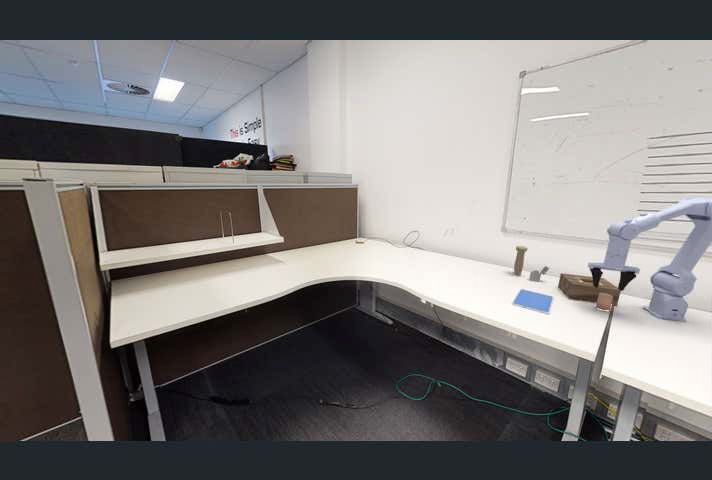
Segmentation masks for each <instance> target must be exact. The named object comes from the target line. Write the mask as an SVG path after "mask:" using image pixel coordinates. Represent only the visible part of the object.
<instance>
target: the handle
mask: <svg viewBox="0 0 712 480" xmlns="http://www.w3.org/2000/svg"><path fill="white" fill-rule="evenodd" d="M515 250H516V251H517V253H516V255H515V256H516V257H515V261H514V267H513V271H514V272H513V275H515V276H521V275H522V272H523V267H524V264H525V263H524V261H525V254H526V253H525V252H527V251H528V247H526V246H524V245H523V246H522V245H516V246H515Z"/></svg>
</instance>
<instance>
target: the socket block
mask: <svg viewBox="0 0 712 480" xmlns="http://www.w3.org/2000/svg"><path fill="white" fill-rule="evenodd" d="M557 288H558V289H559V290H560V291H561V292H562V293H563V294H564V295H565V296H566V298H568V299H569V300H575V301H580V300H582V302H587V301H590V302H589V303H594V302H597V300H598V296H599V293H606V294H609V295H612V296H613V299H612V303H611V304H612V305H611V306H615V307H617V306H618V304H619V301H620V300H619V299H620V296H621V292H622V291H621V290H619V289H618V286H616V285H614V284H612V283H611V282H610V281H608V280H607V279H605V278H603V277H601V278H600V281H599V286H598V288H597V287H594V286H593V277H592V276H587V275H578V274H570V273H561V272H560V275H559V281H558V285H557Z"/></svg>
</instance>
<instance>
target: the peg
mask: <svg viewBox="0 0 712 480" xmlns="http://www.w3.org/2000/svg"><path fill="white" fill-rule="evenodd" d="M612 299H613V296H612V295H609V294H606V293H599V296H598V300H597V303H595V305H596V306H595V308H596V307H597V308H599V309H602V310H611V306H612V305H611V303H612ZM597 308H596V309H597Z"/></svg>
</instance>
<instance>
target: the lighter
mask: <svg viewBox="0 0 712 480" xmlns="http://www.w3.org/2000/svg"><path fill="white" fill-rule="evenodd" d="M549 269H550V267H549V266H547V265H544V267H543V268H542V269H541V270H540V271H539V270H535V269H534V270H533V271H530V275H529V281H531V282H541V278H542V275H543V276H544V275H546V273H547V272H548V271H549Z"/></svg>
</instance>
